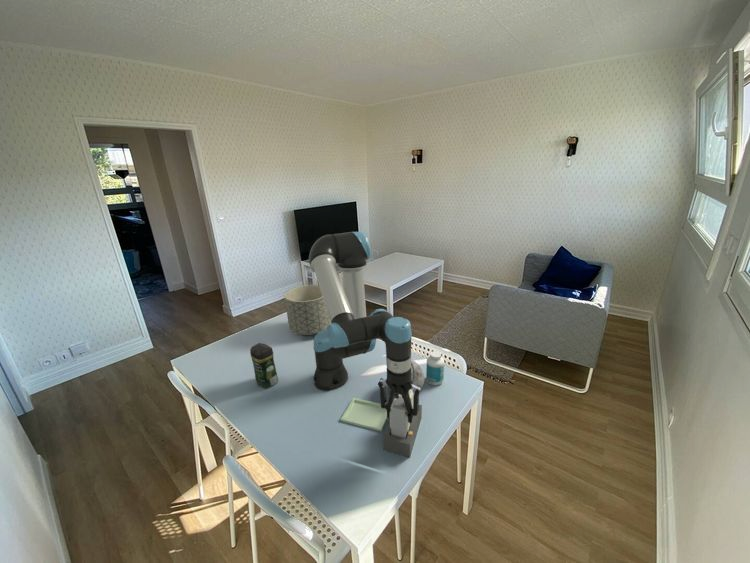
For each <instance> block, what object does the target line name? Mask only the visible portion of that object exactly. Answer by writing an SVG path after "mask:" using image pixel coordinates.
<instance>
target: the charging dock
mask: <svg viewBox="0 0 750 563" xmlns="http://www.w3.org/2000/svg"><path fill="white" fill-rule="evenodd" d="M409 396H410V400H411V404H412V407H413V396H414V394H413V390H412V389H410V390H409ZM398 399H402V400H404V399H403V398H402V395H401V394H399V395H398ZM422 407H423V405H422V404H419V410H418V413H417V415H416V416H414V415H413V420H412V422H411V423H410V427H409V430H408V432H407V435H406V438H405V439H403V438H400V437H396V436H392V435H391V428H390V420H389V421H388V424H387V425H386V429H385V431H384V433H383V436H382V449H383V451H386V452H388V453H393V454H396V455H400V456H403V457H407V458H411V456H412V453H413V449H414V447H415V446H414V445H415V442H416V439H417V436H418V432H419V430H420V429H419V428H420V425H421V421H422V418H423V417H422V413H423V412H422V410H423V409H422Z"/></svg>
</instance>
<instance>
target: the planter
mask: <svg viewBox="0 0 750 563" xmlns="http://www.w3.org/2000/svg"><path fill="white" fill-rule="evenodd" d="M284 303H285V308H286V310H285V311H286V317H287V322H288V328H289V330H290V332H292V333H293V334H296V335H302V336H306V335H307V336H313V335H315V334H316V335H317V334H318V333H319V332H321V331H323V330H325V329H327V327H328V325H330V324H331V321H330V318H329V314H328V311H327V308H326V305H325V302H324V299H323V296H322V293H321V289H320V286H319V284H318V285H317V284H311V285H310V284H309V285H308V284H307V285H300V286H297V287H294V288H291V289H289V290H288V291H287V292H285V294H284Z"/></svg>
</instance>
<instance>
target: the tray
mask: <svg viewBox="0 0 750 563" xmlns="http://www.w3.org/2000/svg"><path fill="white" fill-rule="evenodd" d="M388 419H389V418H388V417H387V410H386V409H385V408H381V402H375V401H370V400H366V399H363V398H357V397H353V398H352V399H351V400H350V402H349V404H348V406H347V407H346V410H345V411H344V412H343V414H342V416H341V418H340V422H343V423H347V424H349V425H355V426H357V427H358V426H359V427H361V428H367V429H370V430H373V431H374V430H375V431H378V432H381V433H382V431H383V429H384V427H385V425H386V422H387V420H388Z"/></svg>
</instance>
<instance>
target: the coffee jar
mask: <svg viewBox="0 0 750 563" xmlns="http://www.w3.org/2000/svg"><path fill="white" fill-rule="evenodd" d="M249 351H250V358H251V360H252V364H253V371H254V378H255V381H256V384H257V385H258V386H260V387H261V388H264V389H267V388H270V387H273V386H275V385H276V384H277V383H278V382H279V381H278V380H279V378H278V372H277V369H276V365H275V359H274V350H273V348H272V347H271V346H270V345H268V344H266V343H263V342H258V343H256V344H254V345H252V346H251V348H250V350H249Z"/></svg>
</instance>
